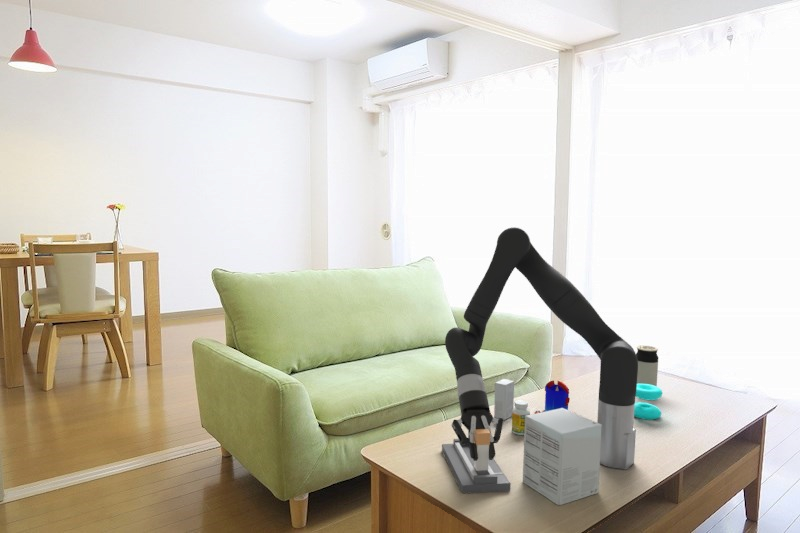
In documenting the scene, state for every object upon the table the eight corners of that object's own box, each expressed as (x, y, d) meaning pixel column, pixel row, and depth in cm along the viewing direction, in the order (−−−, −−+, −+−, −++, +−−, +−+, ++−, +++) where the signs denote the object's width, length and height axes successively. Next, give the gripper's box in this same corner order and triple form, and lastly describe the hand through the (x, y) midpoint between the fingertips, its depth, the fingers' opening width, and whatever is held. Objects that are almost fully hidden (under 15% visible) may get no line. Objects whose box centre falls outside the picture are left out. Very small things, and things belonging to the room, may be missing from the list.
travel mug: (657, 392, 210) (660, 347, 208) (654, 398, 203) (657, 351, 202) (635, 389, 214) (637, 344, 212) (631, 394, 207) (634, 348, 206)
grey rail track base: (441, 450, 155) (442, 438, 155) (482, 449, 157) (483, 437, 156) (462, 493, 132) (462, 479, 131) (510, 490, 133) (510, 476, 133)
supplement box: (560, 470, 144) (562, 406, 142) (599, 493, 133) (603, 424, 131) (521, 481, 138) (523, 414, 136) (559, 506, 126) (562, 433, 125)
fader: (472, 471, 138) (474, 429, 137) (485, 470, 139) (487, 428, 138) (476, 476, 135) (477, 433, 134) (489, 475, 136) (490, 433, 135)
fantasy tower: (531, 414, 186) (532, 379, 184) (550, 406, 193) (552, 373, 192) (561, 424, 177) (563, 388, 176) (581, 415, 185) (582, 381, 183)
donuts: (635, 390, 180) (626, 381, 190) (634, 420, 181) (624, 409, 191) (667, 392, 179) (656, 383, 189) (665, 421, 180) (654, 411, 190)
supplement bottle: (520, 427, 173) (521, 398, 172) (532, 433, 169) (533, 403, 168) (507, 431, 170) (508, 401, 169) (520, 437, 166) (521, 406, 165)
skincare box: (502, 412, 187) (503, 378, 185) (513, 415, 184) (514, 380, 183) (493, 417, 182) (494, 382, 181) (504, 420, 179) (506, 385, 178)
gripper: (448, 389, 142) (458, 455, 131) (501, 388, 143) (515, 452, 133) (444, 402, 147) (453, 466, 137) (494, 400, 149) (507, 463, 138)
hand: (483, 459), depth 135 cm, fingers closed on fader, 3 cm apart
